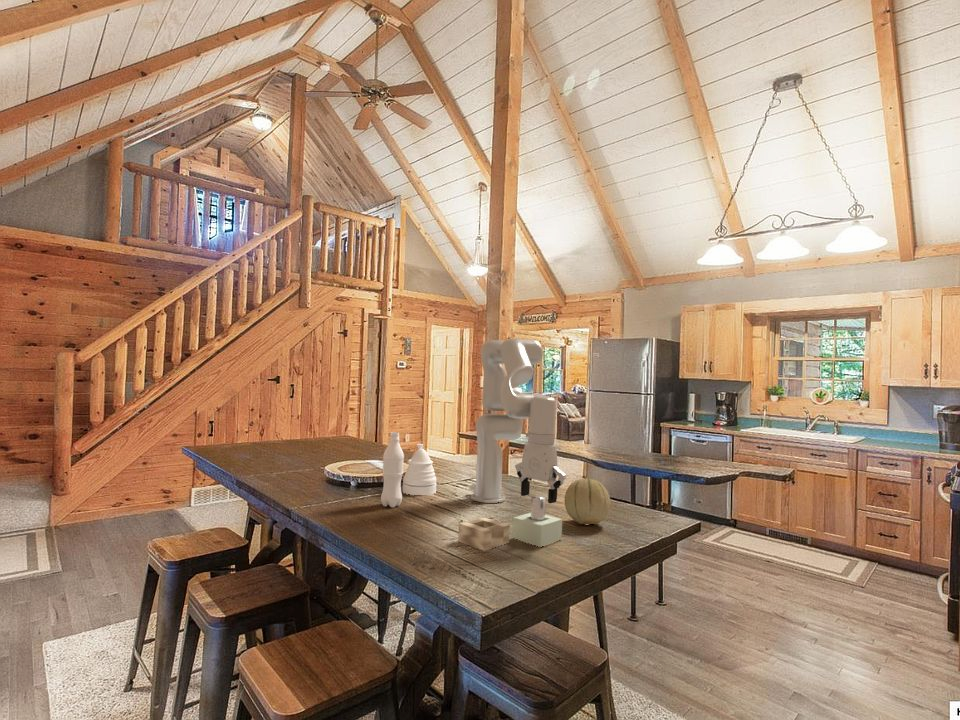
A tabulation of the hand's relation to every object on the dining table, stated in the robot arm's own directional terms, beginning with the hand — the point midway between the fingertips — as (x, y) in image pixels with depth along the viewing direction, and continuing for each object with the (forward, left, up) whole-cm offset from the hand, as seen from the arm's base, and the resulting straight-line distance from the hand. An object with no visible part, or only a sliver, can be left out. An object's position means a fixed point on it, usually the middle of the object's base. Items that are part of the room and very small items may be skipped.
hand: (538, 498), depth 148 cm
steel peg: (0, 0, -12) cm, 12 cm away
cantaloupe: (+1, +25, -12) cm, 27 cm away
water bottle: (-54, -11, -12) cm, 56 cm away
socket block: (-8, -14, -12) cm, 20 cm away
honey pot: (-64, +10, -12) cm, 65 cm away
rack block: (0, 0, -12) cm, 12 cm away
